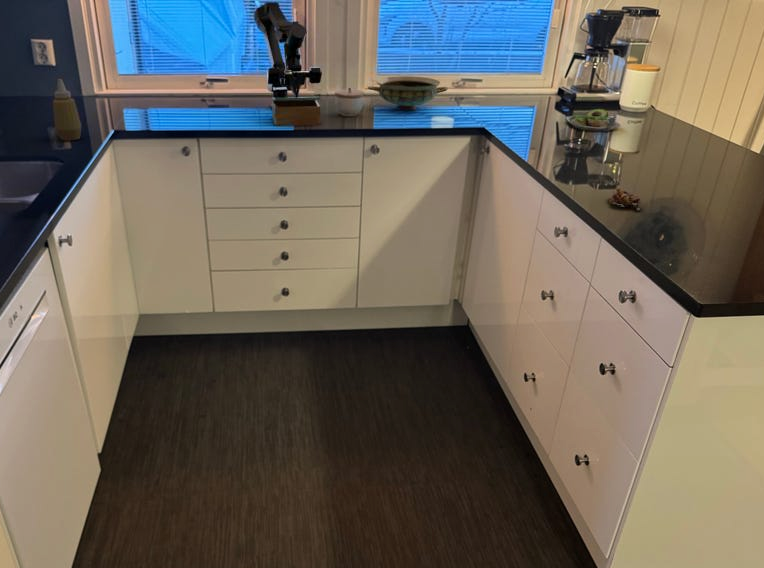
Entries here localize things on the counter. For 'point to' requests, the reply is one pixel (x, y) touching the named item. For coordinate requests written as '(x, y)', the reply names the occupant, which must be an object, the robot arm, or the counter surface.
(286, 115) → the toy box
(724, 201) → the counter surface
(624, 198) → the pastry
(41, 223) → the counter surface
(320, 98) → the lid
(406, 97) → the ceramic bowl
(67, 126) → the squeeze bottle
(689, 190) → the counter surface
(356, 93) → the trinket box
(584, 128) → the salad plate
